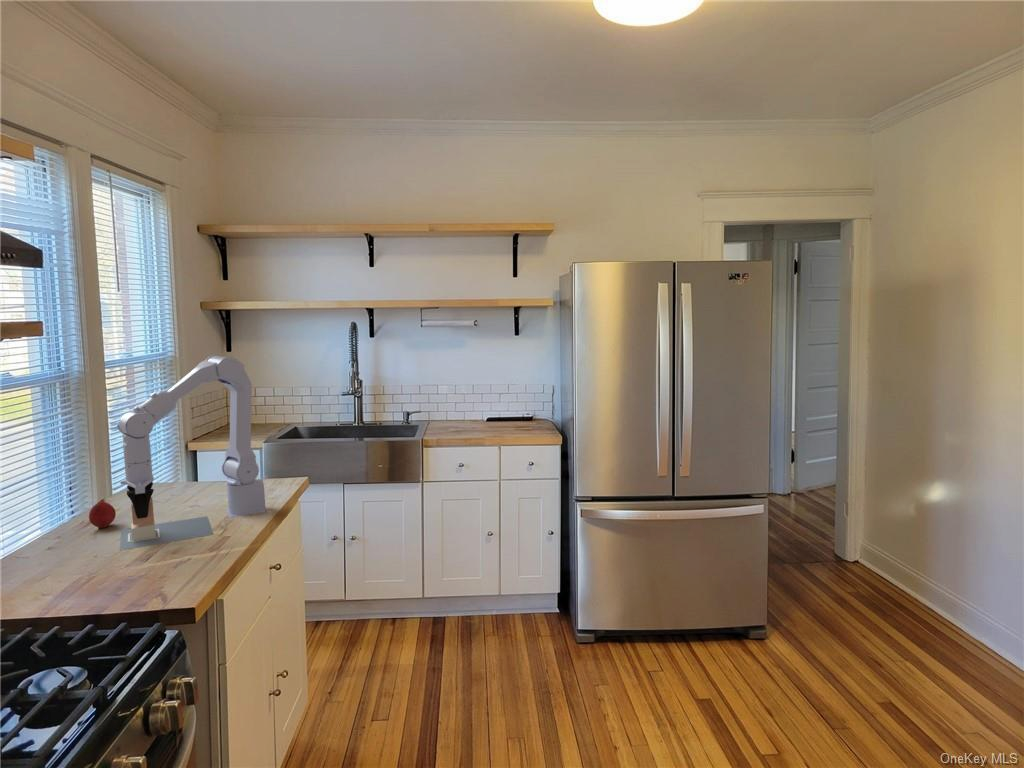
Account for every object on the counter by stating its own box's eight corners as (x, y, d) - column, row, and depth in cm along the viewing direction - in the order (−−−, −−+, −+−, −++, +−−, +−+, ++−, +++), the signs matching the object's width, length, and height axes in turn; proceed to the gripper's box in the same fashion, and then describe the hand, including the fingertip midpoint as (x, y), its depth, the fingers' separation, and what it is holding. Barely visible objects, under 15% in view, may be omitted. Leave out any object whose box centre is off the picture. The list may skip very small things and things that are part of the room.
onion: (103, 533, 163) (101, 503, 162) (84, 532, 164) (81, 501, 163) (121, 525, 168) (119, 496, 167) (103, 524, 169) (100, 495, 168)
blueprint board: (207, 518, 174) (206, 505, 173) (213, 536, 160) (212, 522, 160) (121, 531, 164) (120, 518, 163) (120, 552, 150) (118, 537, 150)
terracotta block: (153, 516, 162) (152, 497, 161) (154, 521, 158) (152, 501, 157) (133, 519, 160) (131, 500, 159) (133, 524, 156) (131, 504, 155)
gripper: (119, 457, 161) (123, 509, 163) (118, 469, 149) (123, 526, 150) (151, 453, 165) (155, 504, 166) (153, 465, 152) (157, 521, 154)
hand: (142, 514), depth 159 cm, fingers closed on terracotta block, 4 cm apart
